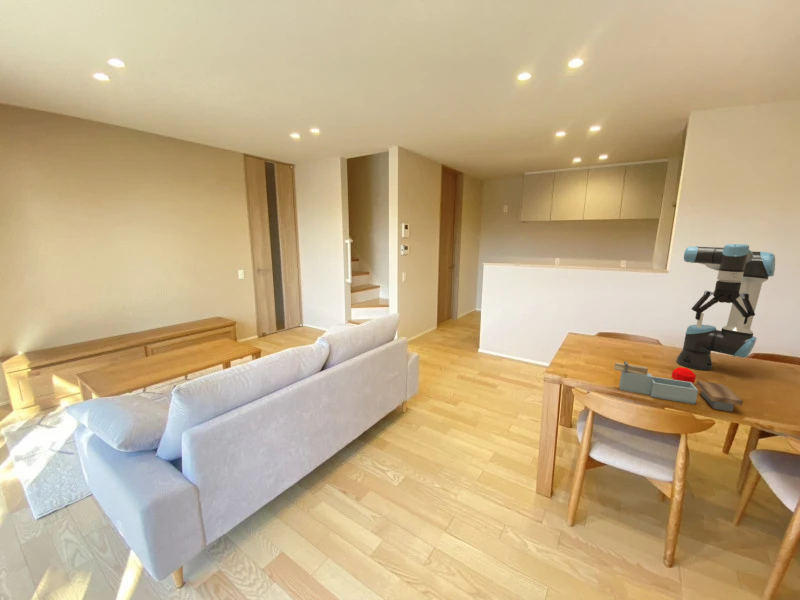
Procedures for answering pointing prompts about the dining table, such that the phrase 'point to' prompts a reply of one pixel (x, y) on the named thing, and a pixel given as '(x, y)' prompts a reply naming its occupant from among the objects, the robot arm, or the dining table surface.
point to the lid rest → (718, 404)
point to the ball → (683, 375)
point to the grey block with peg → (635, 381)
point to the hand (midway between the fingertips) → (718, 328)
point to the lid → (719, 392)
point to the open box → (673, 390)
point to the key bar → (631, 368)
